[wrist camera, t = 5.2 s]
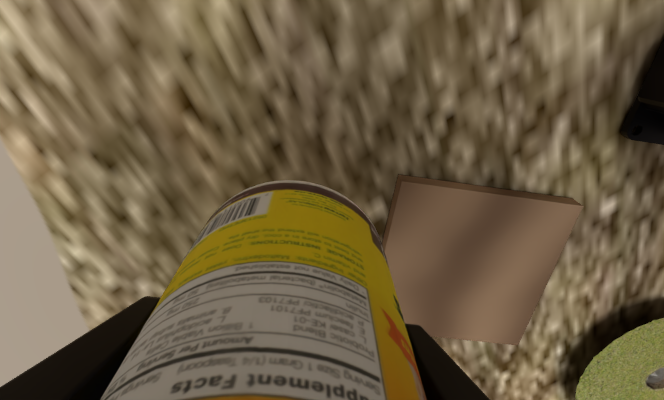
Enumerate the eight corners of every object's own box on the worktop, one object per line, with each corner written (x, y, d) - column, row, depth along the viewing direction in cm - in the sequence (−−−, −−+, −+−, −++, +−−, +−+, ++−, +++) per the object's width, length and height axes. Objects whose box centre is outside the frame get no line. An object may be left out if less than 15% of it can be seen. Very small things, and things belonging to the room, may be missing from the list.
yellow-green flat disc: (663, 422, 29) (685, 448, 28) (532, 400, 28) (546, 425, 26) (764, 311, 25) (798, 333, 23) (614, 278, 24) (638, 299, 22)
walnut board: (572, 198, 21) (583, 206, 20) (510, 333, 25) (518, 345, 24) (398, 174, 20) (401, 181, 20) (363, 318, 24) (365, 329, 24)
